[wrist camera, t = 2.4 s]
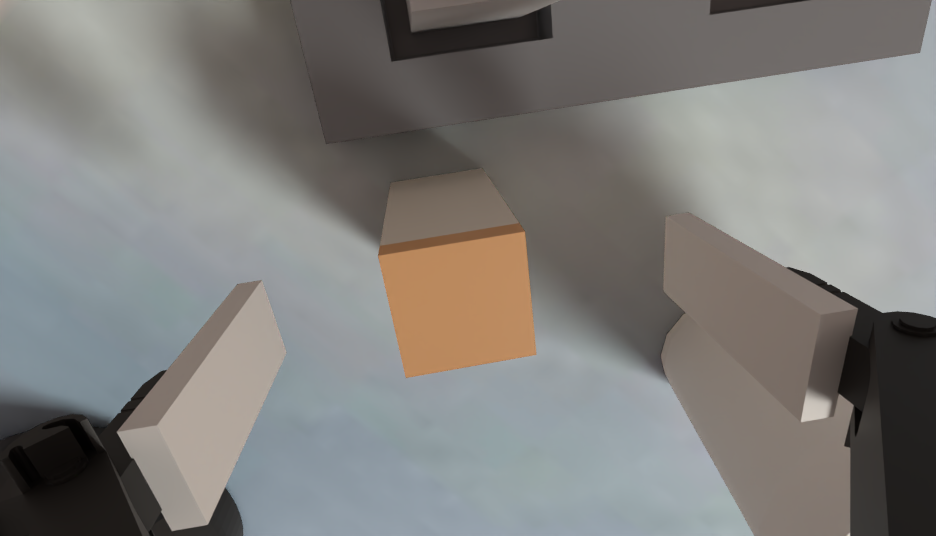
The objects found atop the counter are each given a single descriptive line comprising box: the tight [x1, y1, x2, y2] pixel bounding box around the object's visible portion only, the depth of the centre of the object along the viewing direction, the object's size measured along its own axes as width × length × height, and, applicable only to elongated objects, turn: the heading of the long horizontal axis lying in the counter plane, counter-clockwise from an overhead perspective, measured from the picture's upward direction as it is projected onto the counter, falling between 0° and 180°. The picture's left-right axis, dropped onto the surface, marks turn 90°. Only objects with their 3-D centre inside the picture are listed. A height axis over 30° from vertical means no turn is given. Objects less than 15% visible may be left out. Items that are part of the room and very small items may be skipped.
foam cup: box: [661, 313, 854, 536], centre depth 21 cm, size 10×9×13 cm
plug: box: [378, 168, 536, 378], centre depth 19 cm, size 4×4×9 cm
